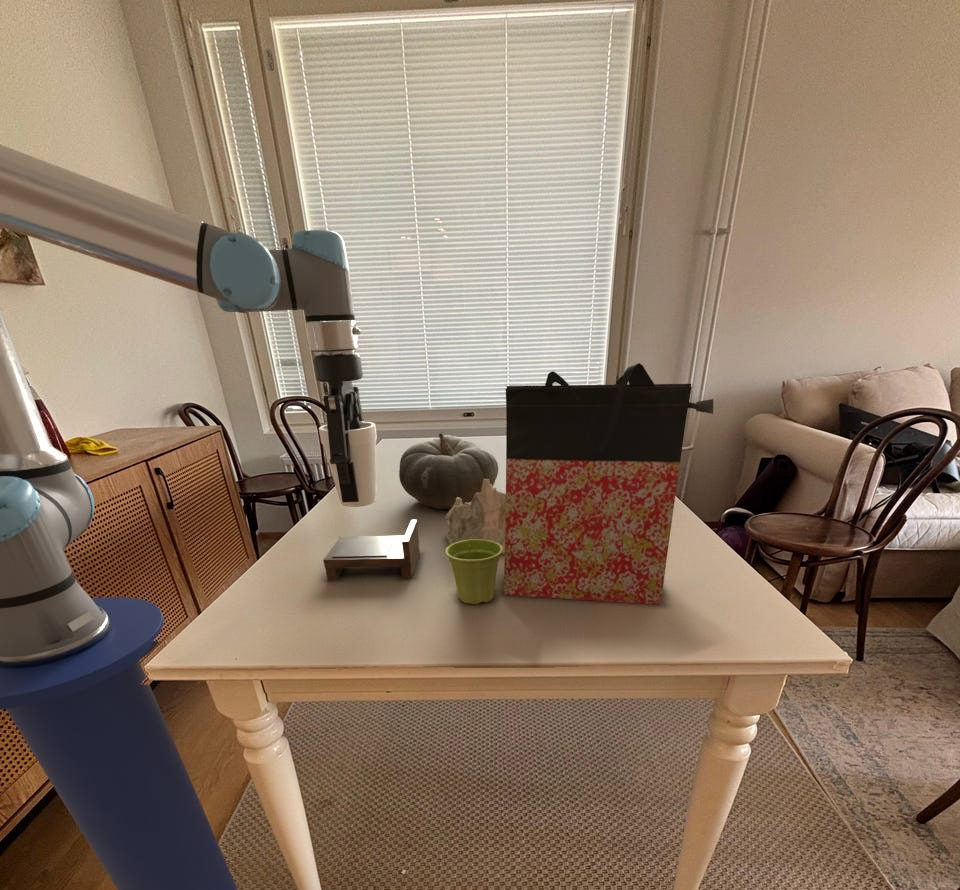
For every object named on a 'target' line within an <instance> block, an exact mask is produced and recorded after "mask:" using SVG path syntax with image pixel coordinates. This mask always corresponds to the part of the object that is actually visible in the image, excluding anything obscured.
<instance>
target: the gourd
mask: <svg viewBox="0 0 960 890" xmlns="http://www.w3.org/2000/svg"><path fill="white" fill-rule="evenodd" d="M399 461H400V462H399V471H398V477H399V478H398V479H399V482H400V484H401V486H402V488H403V489H404V491H405V492H406V493H407V494H408V495H409V496H410V497H412V498H414V499H415V500H416V501H417V502H418V503H419V504H422V505H424V506H426V507H429V508H432V509H437V510H450V509H451V508H452V506H453V505H454V503H455V502H456V498H457V497H459V498H461V499H462V503H463V505H464V503H465V502H467V503H470V502H472V500H473V497H474V495H475V493H479V492H481V489H482V485H483V480H484V479H489V480H490V484H492V486H493V487H494V485H495V482H496V480H497V477H498V474H499V464H498V461H497V459H496V458H495V456H494V455H493V454H492V453H490V452H489V451H488V450H486V449H484V448H483V447H482V446H480V445H478V444H477V443H475V442H473V441H471V440H469V439H462V438H460V437H458V436H455V435H450V434H445V435H443V433H442V432H440V433H438V438H434V439H431V440H429V441H423V442H417V443H415V444H412V445H411V446H409V447H408V448H407V449H405V451H404V452H403V454H402V455H401V457H400V460H399Z"/></svg>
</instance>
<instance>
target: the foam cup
mask: <svg viewBox="0 0 960 890" xmlns="http://www.w3.org/2000/svg"><path fill="white" fill-rule="evenodd" d="M359 425H360V429H355V430H348V431H345V434H346V433H347V432H348V436H349V442H350V452H351V462H353V465H354V471H355V478H356V485H357V491H358V498H359V501H358V502H342V496H341V490H340V485H339V479H338V473H337V467H336V464H331V463H330V447H329V437H328V427H327V424H324V425H321V426H319V428H318V432H319V433H318V434H319V439H320V444H322V446H323V450H324V452H325V456H326V459H327V462H328V466H329V469H330V473H331V476H332V479H333V481H334V485H335V489H336V492H337V496H338V498H339V502H340V504H341V505H342V506H343V507H348V508H359V507H360V508H361V507H366V506H370V505H373V504H374V503H376V502H377V440H378V436H377V427H376V423H374V422H372V421H364V422H363V421H360V422H359ZM340 454H341V453H340Z"/></svg>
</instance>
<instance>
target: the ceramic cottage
mask: <svg viewBox="0 0 960 890" xmlns="http://www.w3.org/2000/svg"><path fill="white" fill-rule="evenodd" d="M505 518H506V492H501V491H499V490H497V487H494V485H493V486H492V484H490V480H489V479H484V480H483V485H482V489H481V492H479V493H475V495H474V497H473V500H472V502H470V503H467V502H465V503H464V505H463V503H462V499H461V498H459V497H457V498H456V502H455V503H454V505H453V506H452V508H451V509H448V512H447V513H446V515H445V520H447V525H448V533H447V537H446V540H447V542H448V544H449V545H451V544H453V543H456V542H459V541H464V540H471V539H483V540H490V541H494V542H496V543H499V544H500V545H501V546H502V548H503V551H502V553H501V554H500V555H505Z"/></svg>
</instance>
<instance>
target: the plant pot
mask: <svg viewBox="0 0 960 890" xmlns="http://www.w3.org/2000/svg"><path fill="white" fill-rule="evenodd" d="M502 551H503V548H502V546H501V545H500V544H499V543H496V542H494V541H490V540H483V539H471V540H464V541H459V542H456V543H453V544H449V545H448V546H447V547H446V548H445V551H444V552H445V556H446V557H447V558H448V561H449V564H450V565H451V568H452V573H453V574H452V575H453V578H454V582H455V587H456V592H457V593H456V594H457V597H458V598H459V600H460V602H463V603H465V604H471V605H478V604H480V603H488V602H490V601H492V600H493V599H494V597H495V591H496V581H497V574H498V573H497V572H498V565H499V561H500V556H501V555H502V554H501V553H502Z"/></svg>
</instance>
